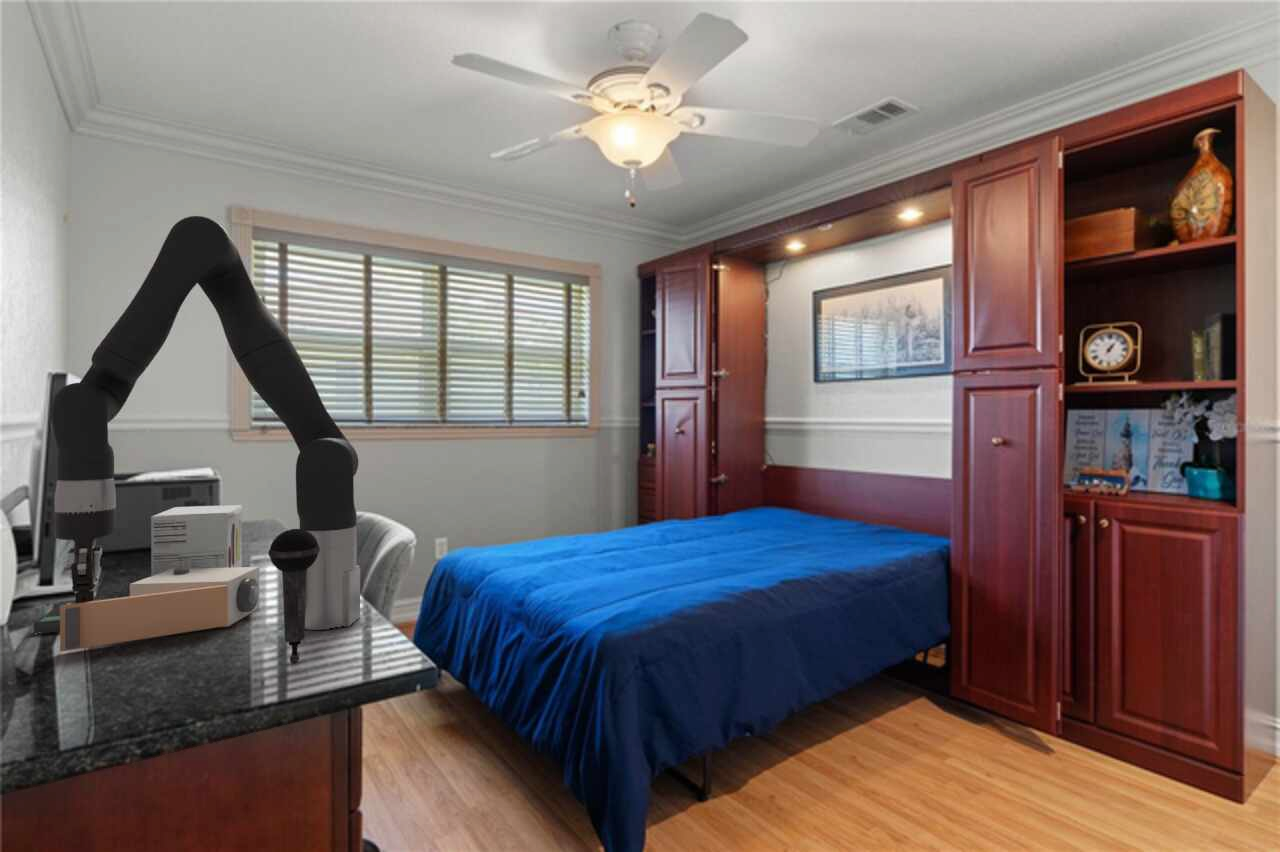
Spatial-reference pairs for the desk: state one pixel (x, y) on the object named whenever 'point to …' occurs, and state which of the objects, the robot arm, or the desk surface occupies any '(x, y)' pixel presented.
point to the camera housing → (237, 579)
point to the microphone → (294, 579)
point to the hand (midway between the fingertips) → (84, 614)
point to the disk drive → (54, 619)
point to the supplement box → (196, 538)
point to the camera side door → (142, 617)
